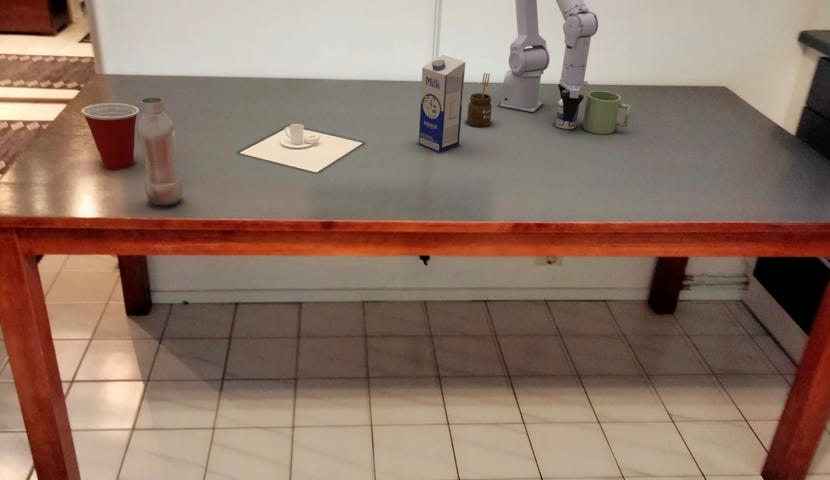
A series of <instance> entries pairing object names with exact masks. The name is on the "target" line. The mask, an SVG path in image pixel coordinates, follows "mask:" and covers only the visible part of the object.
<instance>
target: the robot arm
mask: <svg viewBox="0 0 830 480" xmlns="http://www.w3.org/2000/svg"><path fill="white" fill-rule="evenodd" d="M514 1H515V15H516V29H517V37H516V38H515V39H514V41H512V42H511V44H510V45H509V56H508V66H509V69H510V70H507V71H506V73H505V74H504V78H503V84H502V92H501V102H500V104H499V106H500V107H503V108H508V109H512V110H513V109H514V110H519V111H524V112H529V113H534V112H535V111H537V109H539V108H540V107H541V105H542V102H540V101H539V94H540V87H541V78H542V75H544V72H545V70H547V69H548V68H549V65H550V60H551V58H550V56H551V55H550V52H549V50H548V47H547V41H546V40H545V39H544V38H543V37H542V36H541V35H540V33H539V17H538V16H539V15H538V1H537V0H514ZM555 1H556V4H557V6H558V8H559V11H560V13H561V15H562V18H563V20H564V23H563V24H562V30H563V34H564V45H565V47H564V54H563V61H562V69H561V73H560V74H561V75H560V79H559V83H558V84H557V87H558V90H559V94H560V99H562V101H563V119H564V121H570V122H572V120H573V118H574V115H575V113H576V110H577V108H578V106H579V107H580V104H581V103H582V101H584V98H585V96H584V94H580V91H581V90H582V89H583V88H584V87H589V81H588V80H585V77H586V70H587V65H588V58H589V52H590V46H591V40H592V37H593V36H595V34H597V32H598V29H599V19H598V17H597V14H596V13H595V12H593V11H591V10H590V8H588V7H587V6H586V3H585V1H584V0H555ZM563 90H568V91H569V93H564V92H562V91H563Z"/></svg>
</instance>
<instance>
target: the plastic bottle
mask: <svg viewBox="0 0 830 480" xmlns="http://www.w3.org/2000/svg"><path fill="white" fill-rule="evenodd" d="M140 104H141V112H142V113H143V114H142V116H141V117H140V119H139V121H138V124H137V127H136V132H137V135H138V140H139V143H140V147H141V149H142V154H143V159H144V164H145V165H144V167H145V184H144V186H145V187H144V188H145V190H144V191H145V195H146V197H147V199H148V201H149V202H151V203H152V204H153V205H156V206H169V205H173V204H176V203H178V202H179V201H180V200H181V198H182V197H183V185H182V181H181V178H180V177H179V176H180V175H179V171H178V166H177V161H176V126H175V124H174V122H173V120H172V119H171V118H170V117H169V116H168V115H167V114H166V113H165V110H166V108H165V106H164V100H163V98H161V97H156V96H150V97H145V98H142V99H140Z"/></svg>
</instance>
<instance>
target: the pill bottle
mask: <svg viewBox="0 0 830 480" xmlns="http://www.w3.org/2000/svg"><path fill="white" fill-rule="evenodd" d="M562 92H564V93H569V91H568V90H563V91H562ZM579 108H580V105H579V106H578V108H577V110H576V113H575V115H574V118H573V120H572V122H570V121H564V119H563V101H562V99H561V98H560V99H559V100H558V103H557V109H556V117H555V123H554V124H555V126H556V127H557V128H560V129H564V130H573V129H575V128H576V127H577V123H578V122H577V121H578V116H579Z"/></svg>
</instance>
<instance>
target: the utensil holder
mask: <svg viewBox="0 0 830 480" xmlns="http://www.w3.org/2000/svg"><path fill="white" fill-rule="evenodd" d="M490 76H491V74H490V73H487V72H483V77H482V82H481V81H477V82H476V84H477V85H479V86H480V87H481V85H482V87H483V89H482V92H476V91H475V89H478V88H479V87H478V86H476V85H474V89H473V91H474V92H473V93H472V94H471V95H470V98H469V103H468V106H467V115H466V116H467V117H466V121H467V123H468V124H469V126H472V127H477V128H478V127H479V128H483V127H488V126H489V125H490V123H491V120H492V119H491V118H492V107H493V106H492V104H491V101H492V96H491V95H489V94H487V93H485V92H486V88H487V87H488V86H489V82H490Z"/></svg>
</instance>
